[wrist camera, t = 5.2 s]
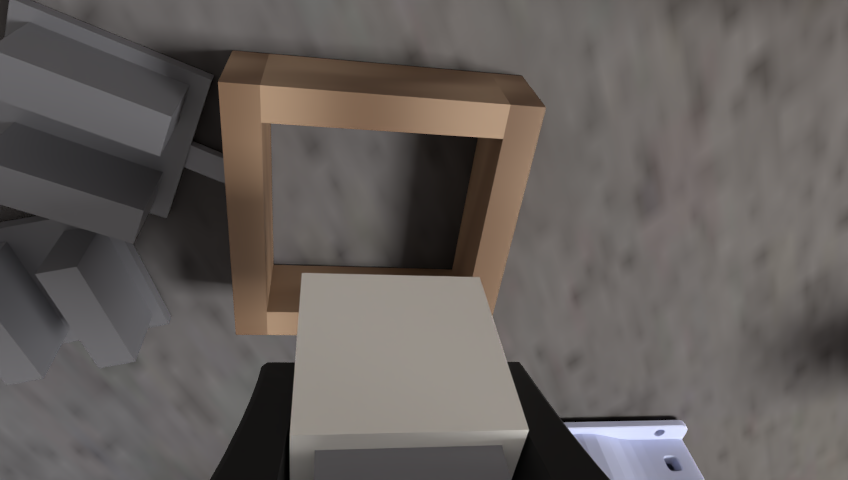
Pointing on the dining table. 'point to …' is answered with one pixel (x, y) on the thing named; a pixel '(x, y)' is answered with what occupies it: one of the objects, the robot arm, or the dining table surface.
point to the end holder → (368, 110)
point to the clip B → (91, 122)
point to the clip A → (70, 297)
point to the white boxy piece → (401, 382)
